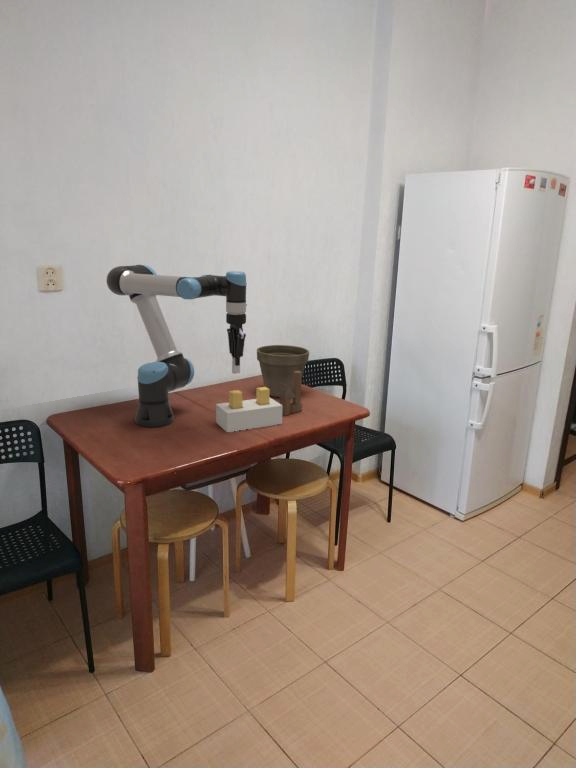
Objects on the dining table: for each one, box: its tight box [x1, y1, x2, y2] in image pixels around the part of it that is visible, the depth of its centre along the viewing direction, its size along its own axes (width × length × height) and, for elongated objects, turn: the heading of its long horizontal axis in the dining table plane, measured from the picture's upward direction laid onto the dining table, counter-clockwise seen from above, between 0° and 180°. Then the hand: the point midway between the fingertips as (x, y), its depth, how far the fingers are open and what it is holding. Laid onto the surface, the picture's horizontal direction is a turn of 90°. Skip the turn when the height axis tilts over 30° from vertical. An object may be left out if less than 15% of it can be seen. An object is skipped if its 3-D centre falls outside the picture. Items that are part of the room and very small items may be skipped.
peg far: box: [255, 386, 270, 405], centre depth 219 cm, size 4×4×8 cm
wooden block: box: [278, 371, 303, 417], centre depth 231 cm, size 4×11×18 cm, turn 135°
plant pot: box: [256, 344, 310, 398], centre depth 257 cm, size 25×25×22 cm
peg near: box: [228, 389, 243, 409], centre depth 213 cm, size 4×4×8 cm
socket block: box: [215, 396, 283, 434], centre depth 218 cm, size 24×12×8 cm, turn 118°
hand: (236, 372), depth 210 cm, fingers closed
